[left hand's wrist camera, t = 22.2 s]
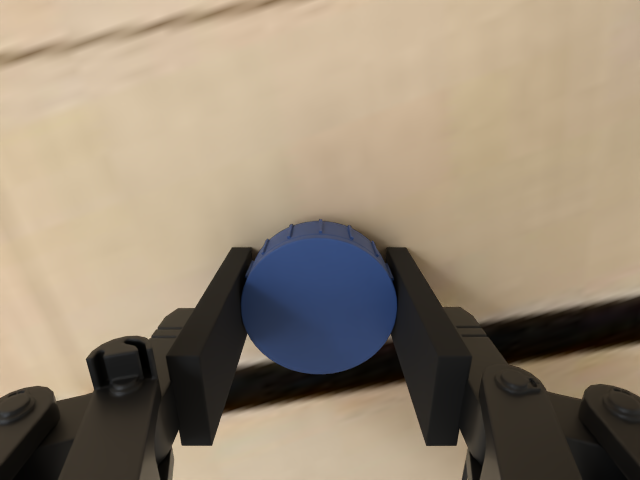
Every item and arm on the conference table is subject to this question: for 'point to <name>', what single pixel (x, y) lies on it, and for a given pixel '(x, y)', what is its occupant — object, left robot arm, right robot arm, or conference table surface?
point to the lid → (319, 298)
